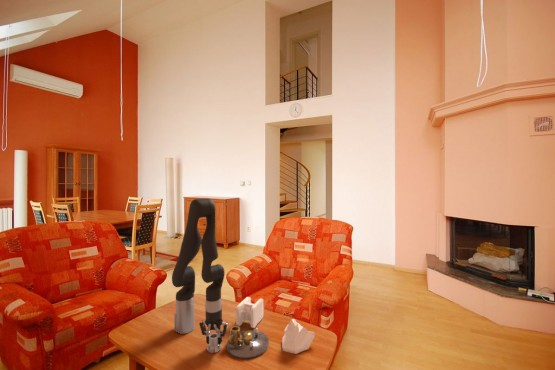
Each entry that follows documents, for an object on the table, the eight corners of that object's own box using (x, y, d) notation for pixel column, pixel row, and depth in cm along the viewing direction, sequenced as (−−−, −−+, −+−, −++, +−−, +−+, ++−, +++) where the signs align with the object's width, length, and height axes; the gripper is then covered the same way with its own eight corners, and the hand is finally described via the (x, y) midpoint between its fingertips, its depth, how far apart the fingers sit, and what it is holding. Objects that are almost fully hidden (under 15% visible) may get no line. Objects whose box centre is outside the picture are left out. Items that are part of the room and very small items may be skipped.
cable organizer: (252, 331, 138) (252, 309, 138) (235, 327, 141) (234, 306, 141) (264, 317, 152) (263, 297, 152) (247, 314, 155) (247, 295, 155)
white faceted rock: (306, 361, 117) (300, 334, 114) (277, 353, 124) (271, 328, 121) (315, 339, 127) (310, 314, 124) (288, 333, 134) (282, 310, 132)
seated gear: (229, 345, 123) (228, 333, 123) (228, 338, 129) (228, 326, 129) (242, 343, 125) (242, 331, 125) (241, 336, 131) (241, 324, 131)
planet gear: (205, 352, 121) (204, 339, 121) (210, 343, 127) (210, 331, 127) (218, 353, 120) (218, 340, 120) (223, 344, 126) (222, 332, 126)
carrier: (220, 356, 118) (220, 344, 118) (234, 331, 138) (234, 321, 137) (264, 360, 115) (264, 348, 115) (271, 334, 135) (271, 323, 135)
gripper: (195, 310, 121) (196, 347, 121) (225, 312, 118) (225, 350, 119) (202, 303, 128) (203, 337, 128) (230, 305, 126) (231, 340, 126)
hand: (214, 343), depth 123 cm, fingers closed on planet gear, 4 cm apart
